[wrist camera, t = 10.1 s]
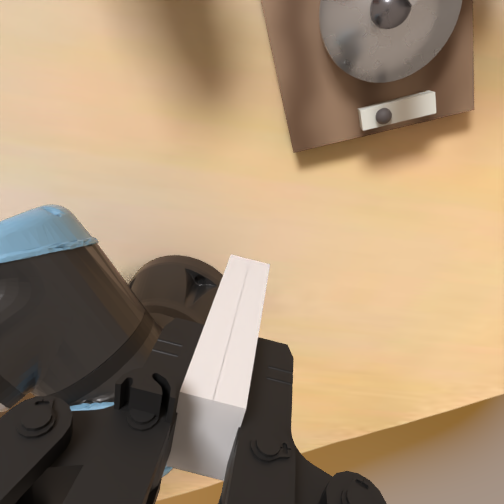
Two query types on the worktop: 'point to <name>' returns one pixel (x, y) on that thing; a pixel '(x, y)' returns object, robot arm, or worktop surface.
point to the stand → (360, 81)
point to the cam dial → (385, 35)
